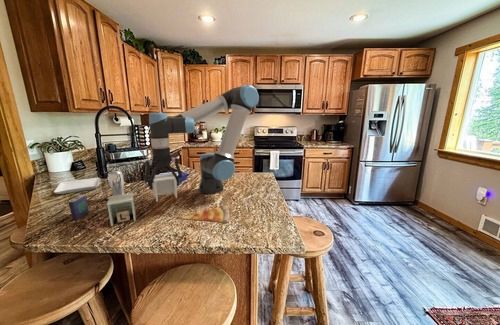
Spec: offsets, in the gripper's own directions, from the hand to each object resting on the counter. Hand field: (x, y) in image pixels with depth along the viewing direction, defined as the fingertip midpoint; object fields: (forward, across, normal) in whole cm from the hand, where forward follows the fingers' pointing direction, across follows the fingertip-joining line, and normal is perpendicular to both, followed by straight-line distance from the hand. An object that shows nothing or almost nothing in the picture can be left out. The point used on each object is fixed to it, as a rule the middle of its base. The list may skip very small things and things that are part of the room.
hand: (165, 193), depth 97 cm
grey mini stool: (+1, 0, 0) cm, 1 cm away
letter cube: (+9, -18, 0) cm, 20 cm away
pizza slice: (+9, +17, -13) cm, 24 cm away
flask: (+9, -36, +14) cm, 39 cm away
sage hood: (+9, -18, 0) cm, 20 cm away
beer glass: (+9, -22, +30) cm, 38 cm away
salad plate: (+9, -45, +63) cm, 78 cm away
